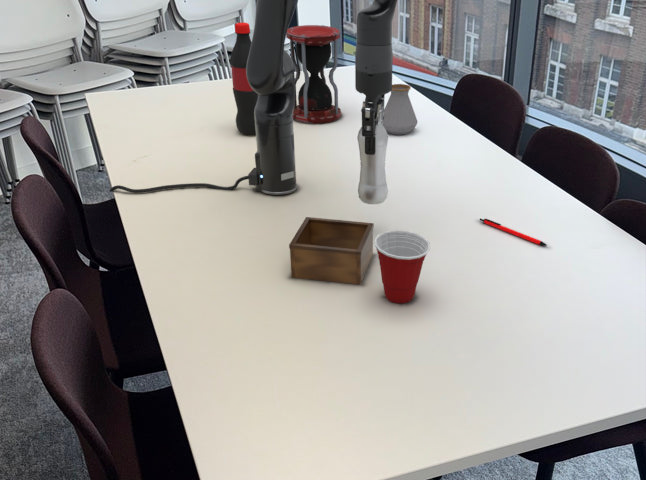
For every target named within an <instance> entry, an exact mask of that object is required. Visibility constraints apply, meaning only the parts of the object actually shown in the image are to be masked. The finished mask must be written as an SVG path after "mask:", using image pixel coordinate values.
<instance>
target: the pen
mask: <svg viewBox="0 0 646 480" xmlns="http://www.w3.org/2000/svg"><path fill="white" fill-rule="evenodd" d="M479 221H481V222H483V224H486V225H489V226H491V227H494V228H496V229H499V230H501V231H503V232H506V233H509V234H511V235H514V236H517V237H519V238H521V239H524V240H526V241H529V242H532V243H534V244H537V245H539V246H545V247H547V246H548V244H546V243H545V242H544V241H542V240H539V239H538V238H534V237H532V236H530V235H527V234H524V233H522V232H519V231H517V230H514V229H511V228H509V227H507V226H503V225H502V224H501V223H499V222H497V221H494V220H491V219H488V218H484V219H483V218H480V219H479Z"/></svg>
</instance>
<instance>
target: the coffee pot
mask: <svg viewBox="0 0 646 480" xmlns="http://www.w3.org/2000/svg"><path fill="white" fill-rule="evenodd" d="M411 89H412V87H411V85H408V84H403V83H394V84H393V83H392V90H391V91H390V95H389V97H388V100H387V102H386V105H385V106H384V119H383V120H382V121H383V124H382V125H383V126H384V128H385V129H386V131H387V134H391V135H396V136H397V135H398V136H402V135H408V134H410V133H411V132H412V131H414V130H415V128H416V126H417V124H418V119H417V116H416V113H415V110H414V107H413V105H412V102H411V99H410V95H409V92H410V90H411Z"/></svg>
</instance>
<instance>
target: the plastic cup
mask: <svg viewBox="0 0 646 480" xmlns="http://www.w3.org/2000/svg"><path fill="white" fill-rule="evenodd" d="M374 247H375V248H376V252H377V256H378V258H377V259H378V261H379V267H380V276H381V282H382V287H383V293H384V296H385V299H386V300H387V301H389V302H391V303H395V304H406V303H409V302H411V301H412V300H413V299H414V297H415V294H416V290H417V286H418V283H419V279H420V275H421V272H422V268H423V264H424V261H425V258H426V257H427V255H428V253H429V252H430V250H431V242H429V240H427V238H426V237H424V236H423V235H421V234H420V233H417V232H413V231H409V230H401V229H400V230H399V229H393V230H386V231H383V232H381V233H379V234H377V236H376V237H375V238H374Z"/></svg>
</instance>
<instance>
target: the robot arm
mask: <svg viewBox="0 0 646 480" xmlns="http://www.w3.org/2000/svg"><path fill="white" fill-rule="evenodd" d="M298 2H299V0H256V4H255V5H256V6H255V16H254V26H253V33H252V37H251V47H250V51H249V56H248V61H247V66H246V76H247V80H248V82H249V85H250V86H251V88H252V89H253V90H254V91H255V92H256V93H257V94H258V100H257V104H256V106H255V109H254V118H255V130H256V135H255V141H256V152H255V153H254V163H255V167H253V168H252V170H251V171H249V173H248V174H247V175H245V176H244V175H243V176H241V177H239V178H238V179H237V180H235V183H234V184H233V185H230V186H221V185H216V184H211V183H205V182H204V183H203V182H200V183H198V182H197V183H194V182H193V183H178V184H168V185H161V186H160V185H159V186H155V187H149V188H140V189H139V188H138V189H137V188H135V189H134V188H130V187H127V186H123V185H114V186H112V187H111V188H110V189H109V193H113V192H114V191H116V190H122V191H125V192H129V193H132V194H142V193H151V192H156V191H162V190H169V189H170V190H171V189H180V188H181V189H182V188H201V187H202V188H210V189H215V190H222V191H232V190H235V189H236V188H238V187H239V184H240V183H241V182H243V181H246V180H248V186H256V188H257V192H261V193H264V194H266V195H270V196H284V195H289V194H292V193H294V192H295V191H296V190H297V189H298V185H297V174H296V173H297V172H296V170H297V169H296V152H295V130H294V119H293V110H294V106H295V78H296V74H295V67H294V65H293V62H292V60H291V55H290V54H289V53H288V52H287V50H285V43H286V38H287V36H286V33H287V30H288V29H289V28H290V27H289V26H290V24H291V22H292V19H293V16H294V13H295V11H296V8H297V5H298ZM397 4H398V0H373V1H372V3H370V5H368V6H366V7H364V8H362V9H360V10H359V11H358V12H357V14H356V20H355V21H356V25H355V26H356V43H355V53H354V56H355V58H354V69H355V71H354V73H355V76H354V77H355V79H354V82H355V83H354V86H355V87H354V88H355V90H356V92H358V93H359V94H363V95H365V97H364V100H363V101H362V107H361V109H360V112H361V127H362V136H364V137H365V154H367V155H374V154H375V152H376V130H377V126H379V123H380V112H381V111H382V118H383V119H384V109H385V98H386V97H385V95H387V94H389V93H391V90H392V85H393V61H394V60H393V58H394V54H393V53H394V52H393V42H392V41H393V20H394V15H395V12H396V7H397ZM375 119H376V120H375ZM381 123H382V124H383V121H381ZM368 126H371V131H368V130H367V127H368Z"/></svg>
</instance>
